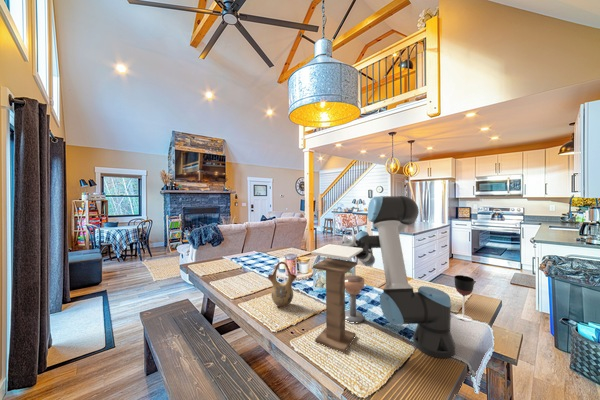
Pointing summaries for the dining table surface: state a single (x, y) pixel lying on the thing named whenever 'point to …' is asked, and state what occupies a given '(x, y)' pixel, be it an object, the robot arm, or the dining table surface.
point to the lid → (338, 250)
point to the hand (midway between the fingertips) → (348, 238)
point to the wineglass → (464, 289)
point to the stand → (335, 304)
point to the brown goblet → (353, 297)
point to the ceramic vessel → (282, 288)
